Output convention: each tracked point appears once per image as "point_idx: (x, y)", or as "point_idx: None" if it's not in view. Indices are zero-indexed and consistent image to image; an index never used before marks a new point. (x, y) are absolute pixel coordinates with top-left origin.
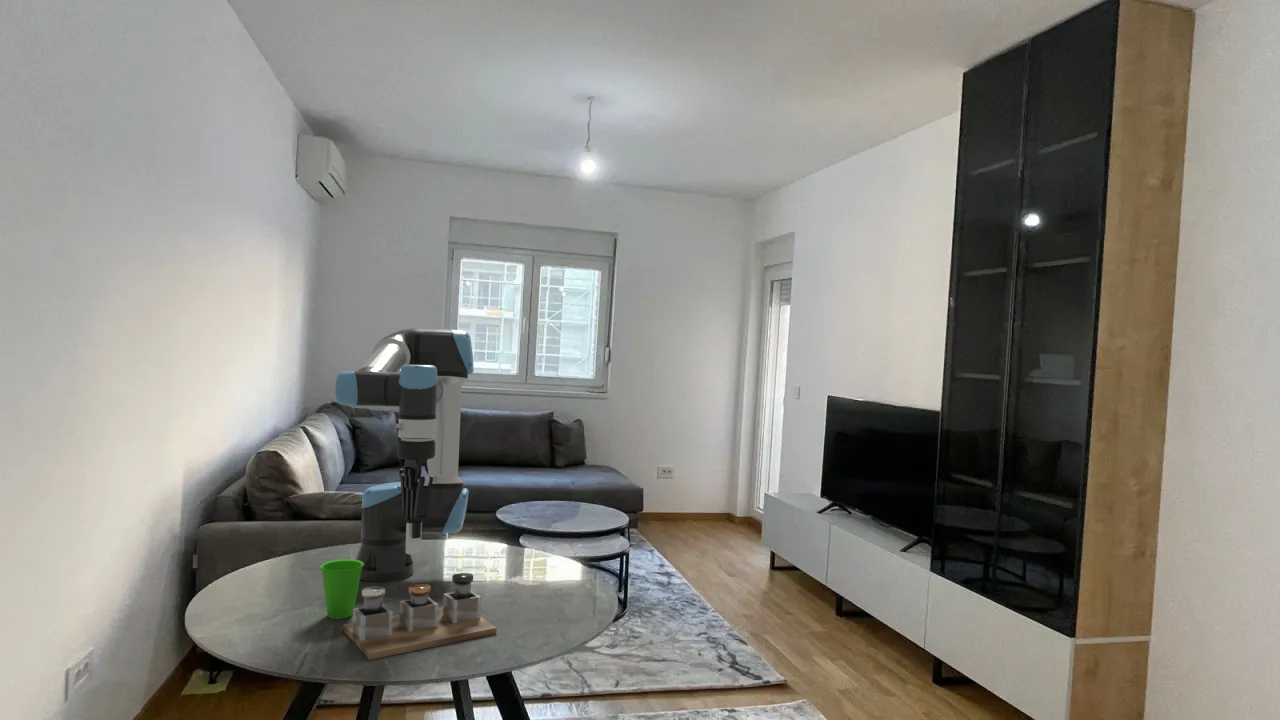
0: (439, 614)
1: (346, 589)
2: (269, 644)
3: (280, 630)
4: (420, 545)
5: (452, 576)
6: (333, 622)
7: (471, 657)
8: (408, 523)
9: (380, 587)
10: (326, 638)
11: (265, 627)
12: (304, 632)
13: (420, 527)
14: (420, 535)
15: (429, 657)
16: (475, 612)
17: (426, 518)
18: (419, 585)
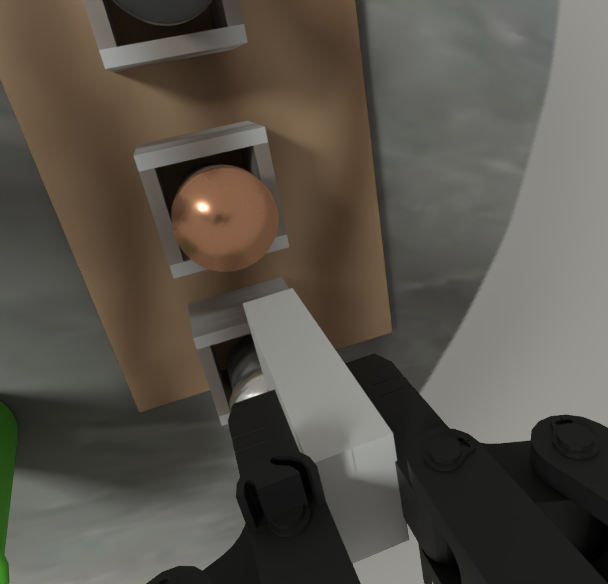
0: (104, 86)
1: (2, 481)
2: (202, 537)
3: (99, 542)
4: (310, 314)
5: (154, 20)
6: (54, 435)
7: (487, 55)
8: (385, 537)
9: (257, 391)
10: (197, 432)
11: (64, 578)
12: (131, 488)
13: (428, 408)
14: (392, 363)
15: (433, 177)
16: None
17: (596, 426)
18: (199, 220)
